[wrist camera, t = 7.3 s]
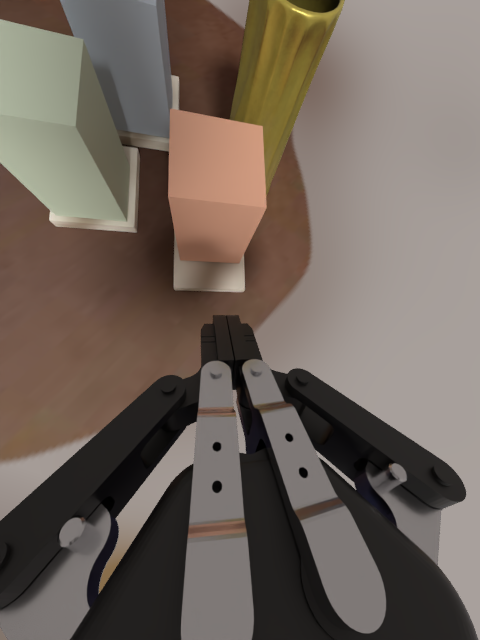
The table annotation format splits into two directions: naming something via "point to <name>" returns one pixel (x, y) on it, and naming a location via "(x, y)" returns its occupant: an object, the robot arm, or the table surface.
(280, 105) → the vase
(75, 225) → the block bases
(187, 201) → the terracotta block
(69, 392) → the table surface
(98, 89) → the sage block
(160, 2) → the slate block
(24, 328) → the table surface
